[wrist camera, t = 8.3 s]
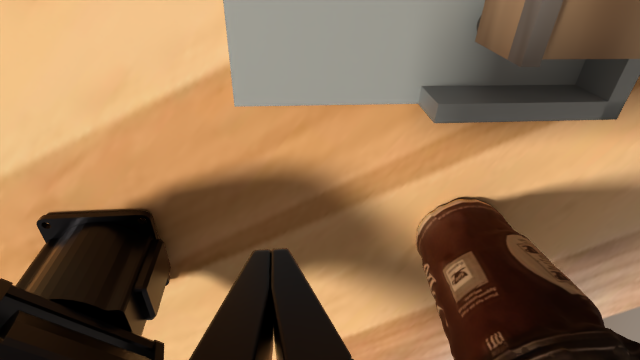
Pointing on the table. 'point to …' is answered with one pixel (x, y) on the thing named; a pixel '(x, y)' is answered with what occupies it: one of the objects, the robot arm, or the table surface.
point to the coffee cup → (507, 293)
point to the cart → (560, 29)
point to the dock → (407, 63)
